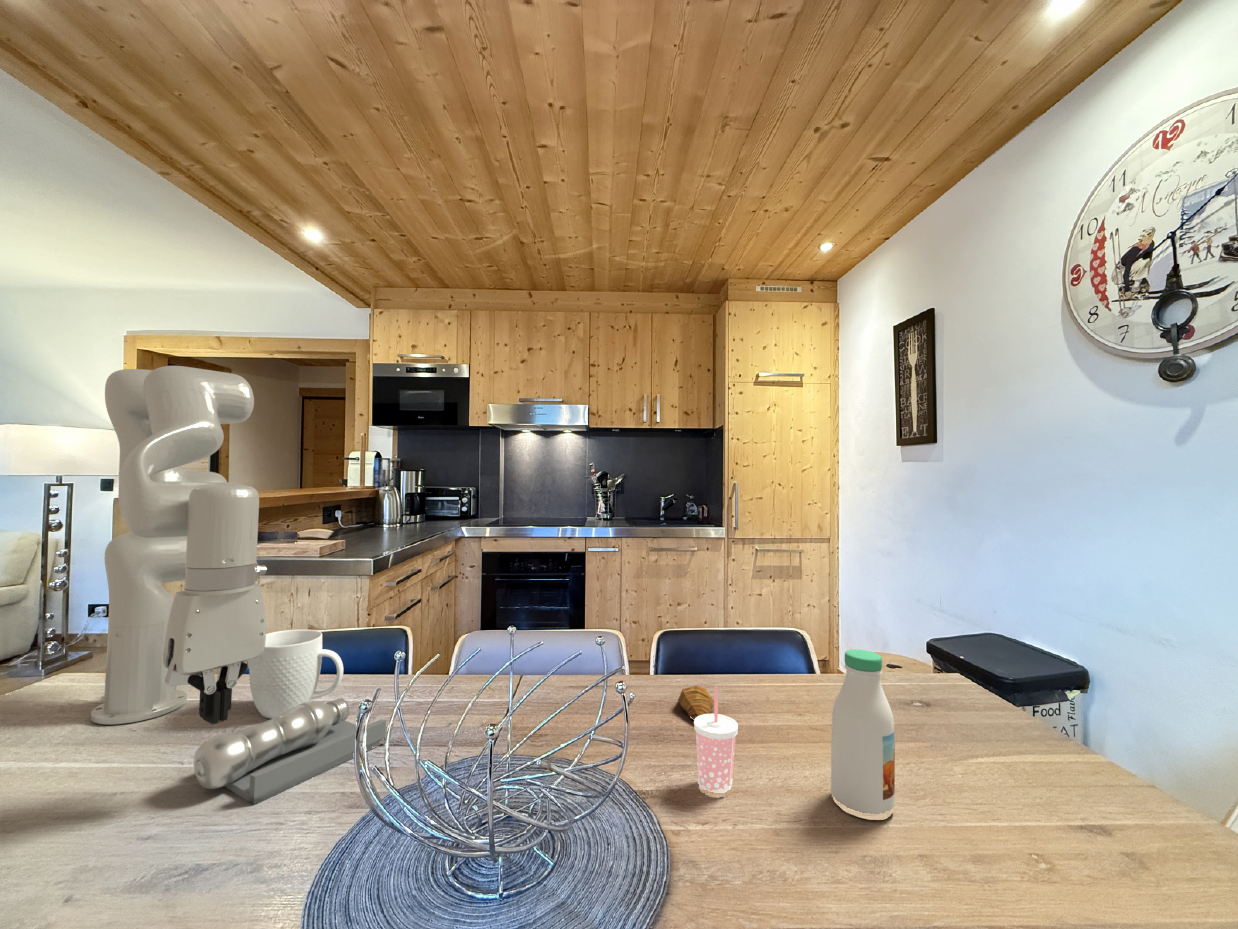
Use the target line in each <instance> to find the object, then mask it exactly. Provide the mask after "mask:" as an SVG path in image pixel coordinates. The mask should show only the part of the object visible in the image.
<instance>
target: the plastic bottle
mask: <svg viewBox="0 0 1238 929" xmlns="http://www.w3.org/2000/svg"><path fill="white" fill-rule="evenodd" d="M349 715H350V707H349V704H348V701H347V700H346V699H344V698H342V697H339V698H337V699H334V700H333V699H332V700H329V701H327V702H326V703H324V702H321V701H318V700H317V701H316V700H311V701H307V702H304V703H302V704H299V705H298V706H296V707H294V708H292V709H290V710H288V711H287V712H285V713H283V714H281V715H279V716H277V717H274V718H272V719H270V718H269V720H265V721H263V722H261V723H258V724H256V725H253V726H252V725H251V726H248V727H245V728H243V729H239V730H237V731H235V730H233V731H231V732H226V733H223V734H218V735H216V736H213V737H211V738H210V739H208V740H207V741H204V742H203V743H202V744H201V745H200V746H199V747H198V748H197V750H196V751H195V753H194V757H193V769H194V774H195V777H196V780H197V782H198V783H199V785H200V786H201V787H202V788H204V789H207V790H209V789H210V790H216V789H219V788H223V787H224V786H226V785H228V784H230V783H232V782H234V781H235V780H237V779H239V778H240V777H242V776H243V775H244V774H246V773H247V772H249V771H251V770H252V769H254V768H256V767H258V766H260V765H261V764H263V763H265V762H267V761H269V760H271V759H274V758H276V757H278V756H281V755H283V754H286V753H288V752H291V751H294V750H297V749H300V748H303V747H307V746H310V745H312V744H315V743H317V742H318V741H320V740H321V739H322V738H323V737H324V736H325V735H326V733H327V732H328V731H329V729H330V727H331V726H332V725H333V726H334V725H337V724H339V723H340V722H342V721H344V720H345V721H347V719H348V718H349Z"/></svg>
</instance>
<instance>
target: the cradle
mask: <svg viewBox="0 0 1238 929" xmlns="http://www.w3.org/2000/svg"><path fill="white" fill-rule="evenodd" d="M356 725H357V724H355V723H353V722H349V721H348V720H344V721H342V722H340V723H339V724H337V725H334V726H333V725H332V726H331V727H330V729H329V731H328V732H327V733H326V735H325V736H324V737H323V738H322V739H321V740H320V741H318V742H317V743H315V744H312V745H310V746H307V747H303V748H300V749H297V750H294V751H291V752H288V753H286V754H283V755H281V756H278V757H276V758H274V759H271V760H269V761H267V762H265V763H263V764H261V765H260V766H258V767H256V768H254V769H252V770H251V771H249V772H247V773H246V774H244V775H243V776H242V777H240V778H239V779H237V780H235V781H234V782H232V783H230V784H228V785H226V786H223V787H225V788H226V789H228V790H229V791H230V792H233V793H234V794H235V795H237V796H238V797H240V798H242V799H244V800H245V801H246V802H249V803H250V804H252V806H255V805H257V804H260V803H261V802H264V801H266V800H268V799H270V798H272V797H274V796H276V795H279V794H280V793H283V792H284V791H285V792H286V791H287V790H290V789H291V788H293V787H296V786H297V785H298V786H299V785H300V784H302V783H304V782H306V781H308V780H311V779H313V778H315V777H317V776H319V775H321V774H324V773H325V772H328V771H330V770H331V769H332V770H333V768H337V767H338V766H340V765H342V764H344V763H347V762H348V761H351V760H352V759H354V758H353V753H354V739H355V733H356ZM366 725H367V751H368V752H370V751H372V750H373V749H372V746H373V747H374V746H378V744H379V742H380V741H381V740H382V739H383V738H384V740H385V741H386V733H387V732H386V731H387V721H386V720H385V719H378V720H376V721H373V722H372V723H369V724H366ZM371 749H372V750H371ZM312 777H313V778H312ZM301 782H302V783H301Z"/></svg>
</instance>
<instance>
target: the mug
mask: <svg viewBox="0 0 1238 929" xmlns="http://www.w3.org/2000/svg"><path fill="white" fill-rule="evenodd" d="M323 657H326V658H330V659H332V661H333V663H334V664H335V666H336V668H335V669H336V678H335V680H334V682H333V684H332V685H331V686H330V687H328V688H327V689H325V690H321V691H316V690H317V687H318V683H319V681H320V680H319V679H320V676H321V669H322V661H323V659H322V658H323ZM263 658H264V660H263V661H262V662H261V663H260V664H258V665H256V666H254V667H252V668H249V671H248V672H249V675H248V676H249V689H250V693H251V697H252V701H253V703H254V705H255V708H256V709H257V710H258V712H259V714H260V715H261V716H262V717H264V718H267V719H269V720H270V719H272V718H274V717H277V716H279V715H281V714H283V713H285V712H287V711H288V710H290V709H292V708H294V707H296V706H298V705H299V704H302V703H304V702H307V701H312V700H315V699H318V698H322V697H325V696H327V695H330V694H331V693H333V692H335V690H336V689H338V687H339V686H340V684H341V682H342V680H343V678H344V664H343V661H342V658H341V657H340V656H339V654H338V653H337V652H336V651H333V650H331V649H325V648H324V649H323V633H322V632H321V631H319V630H316V629H305V628H304V629H287V630H279V631H272V632H268V633H266V640H265V648H264V651H263Z"/></svg>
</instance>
